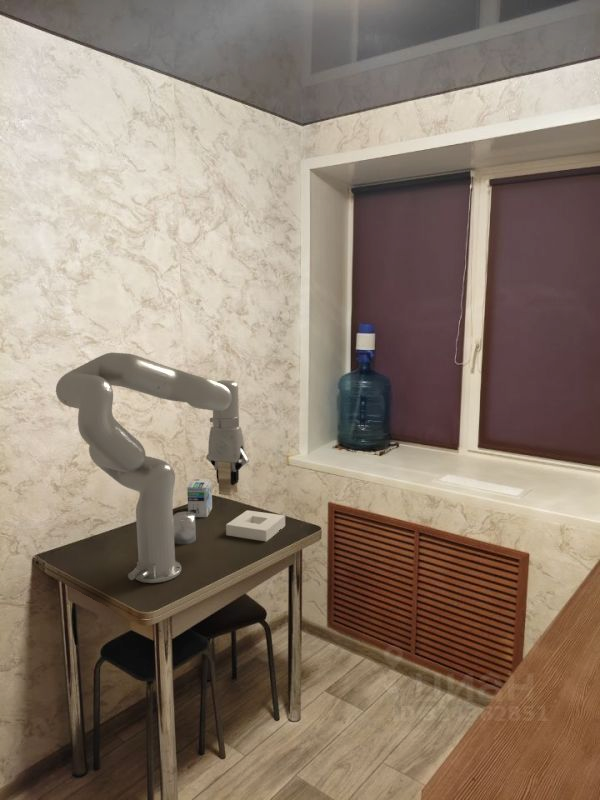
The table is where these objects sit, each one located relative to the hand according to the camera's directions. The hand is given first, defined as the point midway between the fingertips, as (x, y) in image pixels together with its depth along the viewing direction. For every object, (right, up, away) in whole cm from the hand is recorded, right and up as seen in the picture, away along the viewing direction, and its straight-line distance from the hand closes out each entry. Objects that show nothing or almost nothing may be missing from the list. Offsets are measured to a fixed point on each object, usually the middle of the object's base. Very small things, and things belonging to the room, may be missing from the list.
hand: (227, 482), depth 173 cm
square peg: (0, -3, +1) cm, 3 cm away
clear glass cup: (-14, -19, +6) cm, 24 cm away
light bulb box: (-13, -15, +30) cm, 36 cm away
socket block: (+8, -17, +13) cm, 23 cm away
